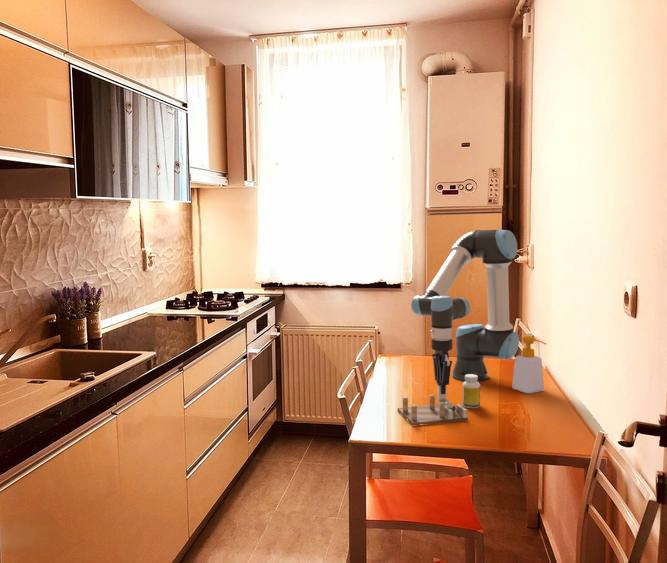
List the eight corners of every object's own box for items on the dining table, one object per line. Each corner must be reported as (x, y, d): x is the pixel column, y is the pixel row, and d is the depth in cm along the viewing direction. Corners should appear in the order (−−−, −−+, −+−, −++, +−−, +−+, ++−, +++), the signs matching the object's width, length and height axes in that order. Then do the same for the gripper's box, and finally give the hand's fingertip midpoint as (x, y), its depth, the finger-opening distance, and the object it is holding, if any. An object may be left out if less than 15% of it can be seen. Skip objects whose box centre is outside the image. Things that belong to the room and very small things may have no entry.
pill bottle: (480, 409, 209) (480, 378, 208) (462, 408, 210) (462, 377, 209) (479, 403, 216) (479, 373, 214) (462, 403, 217) (462, 373, 216)
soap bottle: (536, 398, 221) (537, 341, 218) (510, 389, 233) (510, 335, 231) (554, 394, 225) (555, 338, 223) (527, 385, 237) (528, 332, 235)
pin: (440, 406, 209) (439, 398, 208) (447, 406, 209) (447, 398, 209) (447, 413, 202) (447, 404, 202) (455, 412, 203) (455, 404, 202)
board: (397, 411, 209) (397, 394, 209) (448, 406, 213) (448, 390, 213) (412, 426, 194) (412, 408, 193) (467, 420, 198) (467, 403, 197)
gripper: (425, 335, 213) (425, 397, 216) (438, 342, 201) (439, 408, 203) (444, 334, 215) (444, 395, 217) (458, 341, 202) (458, 406, 205)
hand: (441, 401), depth 210 cm, fingers closed
